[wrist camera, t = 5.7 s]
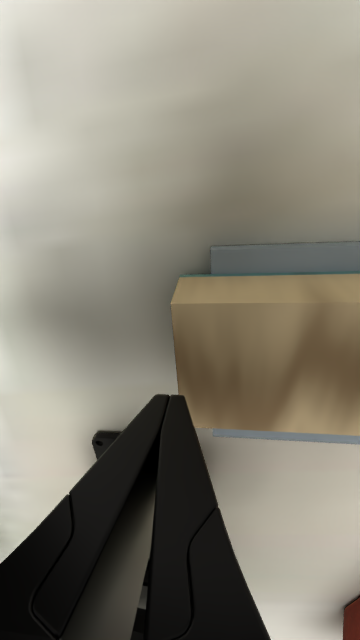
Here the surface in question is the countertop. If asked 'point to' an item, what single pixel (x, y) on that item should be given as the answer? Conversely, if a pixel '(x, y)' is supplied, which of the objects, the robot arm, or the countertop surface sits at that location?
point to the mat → (286, 261)
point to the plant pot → (352, 621)
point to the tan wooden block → (270, 350)
